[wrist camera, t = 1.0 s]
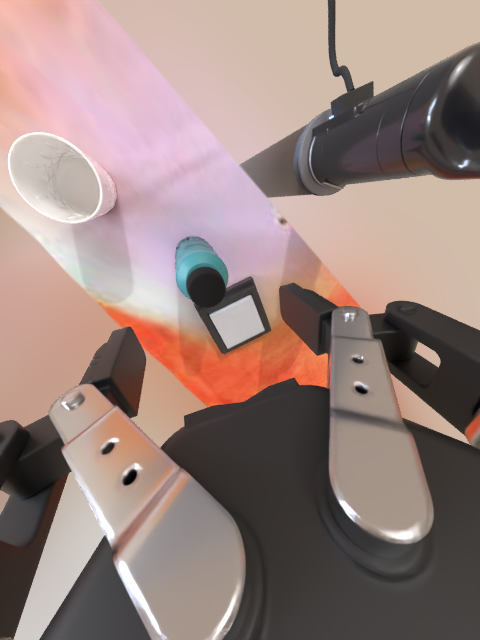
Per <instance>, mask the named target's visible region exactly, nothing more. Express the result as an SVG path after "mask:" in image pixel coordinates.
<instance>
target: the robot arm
mask: <svg viewBox="0 0 480 640" xmlns="http://www.w3.org/2000/svg"><path fill="white" fill-rule="evenodd" d="M328 12H329V13H328V18H329V20H328V22H329V24H328V28H329V31H328V34H329V35H328V36H329V37H328V40H329V58H330V65H331V69H332V72H333V75H334V76H335V77H338V76H340V75H342V77H343V79H344V81H345V85H346V88H347V92H348V93H346V94H343V95H341V96H340V97H338V98H337V99H335V100H333V101H332V102H331V110H332V117H330V119H329V120H327V121H325V122H323V123H321V124H320V125H318V126H316V127H314V128H313V129H312V133H313V138H312V141H311V143H310V147H309V151H308V168H309V172H310V175H311V177H312V178H313V180H314V181H315V182H316V183H317V184H318V185H320V186H322V187H335V188H338V189H343V188H341V187H338V186H339V185H347V184H355V183H364V182H373V181H381V180H390V179H400V178H408V177H417V176H425V175H433V176H435V177H438V178H441V179H445V180H467V179H480V42H478V43H476V44H473V45H471V46H468V47H466V48H464V49H462V50H460V51H458V52H457V53H455V54H453V55H451V56H449V57H447V58H446V59H444V60H442V61H440V62H438V63H436V64H435V65H433V66H431V67H429V68H427V69H425V70H423V71H421V72H420V73H418V74H416V75H414V76H412V77H410V78H408V79H407V80H405V81H403V82H401V83H399V84H397V85H395V86H393V87H392V88H389V89H388V90H386V91H384V92H382V93H380V94H378V95H376V96H374V97H373V81H372V82H370V83H368V84H365V85H363V86H361V87H359V88H357V89H355V88H354V86H353V82H352V78H351V75H350V72H349V70H348V68H347V67H346V66H341V67H338V64H337V60H336V53H335V52H336V51H335V0H328ZM279 294H280V310H281V316H282V318H283V320H284V322H285V323H286V324H287V325H288V326H289V327H290V328H291V329H292V330H293V331H294V332H295V333H296V334H297V335H298V336H299V337H300V338H301V339H302V340H303V341H304V342H305V343H306V345H307V346H308V347H309V348H310V349H311V350H312V351H313V352H314V353H315V354H316V355H317V356H318V355H321V354H324V353H327V354H328V369H327V388H325V387H321V386H314V385H299V384H298V383H297V381H296V380H295V378H291V379H289V380H286V381H283V382H280V383H277V384H274V385H271V386H269V387H267V388H265V389H264V390H262V391H261V392H259V393H258V394H256V395H254V396H253V397H251V398H250V399H248V400H246V401H245V402H241V403H233V404H224V405H216V406H211V407H208V408H205V409H203V410H200V411H197V412H194V413H191V414H188V415H185V416H184V421H185V426H184V427H182V428H181V429H180V430H179V431H177V432H176V433H174V434H173V435H172V436H171V437H170V438H169V439H168V440H167V441H166V442H165V443H164V444H163V445H162V446H161V448H159V447H158V446H157V445H156V444H155V443H154V442H153V441H152V440H151V439H150V438H149V437H148V436H147V435H146V434H145V433H144V432H143V431H142V430H141V429H140V428H139V427H138V426H137V425H136V424H135V423H134V422H133V421H132V420H131V419H130V418H132V417H135V416H137V414H138V408H139V402H140V395H141V390H142V384H143V378H144V371H145V366H146V356H145V353H144V350H143V348H142V346H141V344H140V343H139V341H138V339H137V337H136V335H135V333H134V331H133V329H132V328H131V327H126V328H122V329H119V330H115V331H113V332H112V334H111V336H110V338H109V340H108V342H107V343H105V344H103V345H102V346H101V347H100V348H99V349H98V350H97V351H96V353H95V355H94V357H93V360H92V361H91V363H90V366H89V367H88V369H87V371H86V372H85V374H84V376H83V378H82V380H81V382H80V384H79V386H77V387H74V388H72V389H70V390H68V391H67V392H65V393H64V394H62V395H61V396H60V397H59V398H58V399H57V400H56V401H55V402H54V403H53V404H52V405H51V407H50V409H49V413H48V414H49V415H47V416H45V417H43V418H41V419H39V420H37V421H35V422H34V423H32V424H30V425H28V426H26V427H22V426H21V425H20V424H19V423H18V422H16V421H14V420H9V421H5V422H2V423H0V490H1V491H3V492H5V493H7V494H9V495H10V497H9V499H8V501H7V503H6V505H5V507H4V509H3V511H2V513H1V515H0V640H13V639H14V636H15V633H16V630H17V627H18V624H19V621H20V618H21V615H22V612H23V609H24V606H25V603H26V600H27V597H28V594H29V591H30V588H31V585H32V582H33V579H34V576H35V573H36V570H37V567H38V564H39V561H40V558H41V555H42V552H43V549H44V546H45V543H46V539H47V537H48V534H49V531H50V528H51V524H52V522H53V519H54V516H55V513H56V510H57V507H58V504H59V501H60V498H61V495H62V492H63V489H64V486H65V483H66V480H67V477H68V474H69V473H70V472H71V471H72V472H73V474H74V476H75V478H76V480H77V482H78V484H79V486H80V488H81V489H82V492H83V493H84V495H85V497H86V499H87V501H88V503H89V505H90V507H91V508H92V511H93V512H94V514H95V516H96V518H97V520H98V522H99V524H100V526H101V528H102V529H103V532H104V533H105V536H104V537H103V539H102V540H101V542H100V543H99V545H98V547H97V548H96V550H95V551H94V553H93V555H92V556H91V558H90V560H89V561H88V563H87V564H86V566H85V568H84V569H83V571H82V572H81V574H80V576H79V577H78V579H77V580H76V582H75V584H74V585H73V587H72V588H71V590H70V592H69V594H68V595H67V596H66V598H65V599H64V601H63V603H62V604H61V606H60V607H59V609H58V611H57V612H56V614H55V615H54V617H53V619H52V620H51V622H50V624H49V625H48V627H47V628H46V630H45V631H44V633H43V635H42V636H41V638H40V640H480V330H478V329H475V328H473V327H470V326H468V325H466V324H464V323H462V322H459V321H457V320H455V319H453V318H450V317H448V316H446V315H443V314H441V313H439V312H437V311H434V310H432V309H430V308H428V307H425V306H423V305H421V304H418V303H414V302H409V301H394V302H391V303H389V304H388V305H387V306H386V310H385V313H383V314H372V315H368V313H367V312H366V311H365V310H363V309H361V308H358V307H353V306H343V307H338V306H336V305H335V304H333V303H332V302H330V301H328V300H327V299H324V298H323V297H322V296H319V294H317V293H315V292H314V291H311V290H307V289H303V288H301V287H300V286H298V285H296V284H295V283H291V284H287V285H284V286H281V287H280V289H279ZM418 341H419V342H420V343H422V344H424V345H426V346H427V347H429V348H430V349H432V350H434V351H435V352H436V353H437V354H438V356H439V357H440V360H441V363H440V366H439V368H438V367H437V366H435V365H434V364H432V363H431V362H429V361H427V360H426V359H424V358H423V357H422V356H420V355H418V354H417V353H416V352H415V349H416V346H417V343H418ZM390 373H391V374H392V375H394V376H395V377H396V378H397V379H398V380H400V381H401V382H402V383H403V384H404V385H405V386H407V387H408V388H409V389H410V390H412V391H413V392H414V393H415V394H416V395H417V396H419V397H420V398H421V399H422V400H423V401H424V402H426V403H427V404H428V405H429V406H430V407H432V408H433V409H434V410H435V411H436V412H437V413H439V414H440V415H441V416H442V417H443V418H445V419H446V420H447V421H448V422H449V423H451V424H452V425H453V426H454V427H455V428H457V429H458V430H459V431H460V432H461V433H462V434H464V435H465V436H466V438H467V440H468V442H469V443H470V445H469V444H467V443H464V442H462V441H459V440H457V439H454V438H452V437H449V436H447V435H444V434H442V433H439V432H437V431H434V430H431V429H429V428H427V427H424V426H422V425H419V424H417V423H414V422H412V421H409V420H407V419H404V418H402V416H401V412H400V409H399V405H398V401H397V397H396V394H395V390H394V386H393V382H392V379H391V376H390Z"/></svg>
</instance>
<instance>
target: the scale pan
mask: <svg viewBox="0 0 480 640" xmlns="http://www.w3.org/2000/svg"><path fill="white" fill-rule="evenodd" d="M209 315H210V318H211V319H212V321H213V323H214V325H215V327H216V329H217V330H218V332H219V334H220V336H221V338H222V339H223V341H224V343H225V345H226V347H227V348H228V349H229V348H231V347H233V346H235V345H237V344H239V343H241V342H243V341H245V340H247V339H249V338H251V337H253V336H255V335H257V334H259V333H261V332H263V331H265V329H264V327H263V324H262V322H261V319H260V317H259V314H258V311H257V309H256V306H255V304H254V301H253V298H252V296H251V295H250V294H249V295H247V296H245V297H243V298H241V299H239V300H237V301H235V302H233V303H231V304H229V305H226V306H224V307H222V308H220V309H218V310H216V311H214V312H212V313H210V314H209Z"/></svg>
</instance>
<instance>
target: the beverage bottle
mask: <svg viewBox="0 0 480 640" xmlns="http://www.w3.org/2000/svg"><path fill="white" fill-rule="evenodd" d="M176 249H177V250H175V251H176V257H175V258H176V267H175V268H176V270H175V271H177V272H176V281H177V285H178V287H179V289H180V291H181V292H182V293H183V294H184V295H185V296H186V297H187V298H189V299H191V300H192V301H193V302H194V303H195V304H196V305H198V306H200V307H204V308H210V307H214V306H216V305H218V304H219V303H220V302H221V301H222V300H223V298H224V296H225V292H226V286H227V283H228V271H227V268H226V266H225V264H224V262H223V261H222V260H221V259H220V258H219V257H218V255H217V254H216V253H215V252H214V250H213V249H212V248H211V247H210V246H209V245H208V243H207V242H206V241H204V240H203V239H201V238H199V237H190V236H189V237H187V238H185V239H183V240H182V241H180V242H179V245H178V247H177V248H176Z"/></svg>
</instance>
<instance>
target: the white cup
mask: <svg viewBox="0 0 480 640" xmlns="http://www.w3.org/2000/svg"><path fill="white" fill-rule="evenodd" d="M8 168H9V172H10V176H11V179H12V181H13V183H14V185H15V187H16V189H17V190H18V192H19V193H20V195H21V196H22V197H23V198H24V199H25V201H26V202H27V203H28V204H29V205H30V206H32V207H33V208H34V209H35V210H37V211H38V212H39V213H41V214H43V215H44V216H46V217H48V218H50V219H52V220H55V221H58V222H62V223H67V224H78V223H83V222H86V221H89V220H92V219H95V218H98V217H100V216H102V215H104V214H106V213H108V212H109V211H110V210H111V209H112V208H113V207H114V206H115V202H116V199H117V193H116V187H115V184H114V182H113V181H112V179H111V177H110V176H109V174H108V173H107V172H106V171H105V170H104V169H103V168H102V167H101V166H100V165H99V164H98V163H96V162H95V161H94V160H93V159H92V158H91V157H89V156H88V155H87V154H85V153H84V152H82V151H81V150H80V149H78V148H77V147H76V146H74V145H73V144H71V143H70V142H68V141H67V140H65V139H63V138H61V137H58V136H56V135H52V134H49V133H42V132H35V133H29V134H26V135H23V136H21V137H20V138H18V139H17V140H16V141H15V142H14V144H13V145H12V147H11V149H10V151H9V156H8Z"/></svg>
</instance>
